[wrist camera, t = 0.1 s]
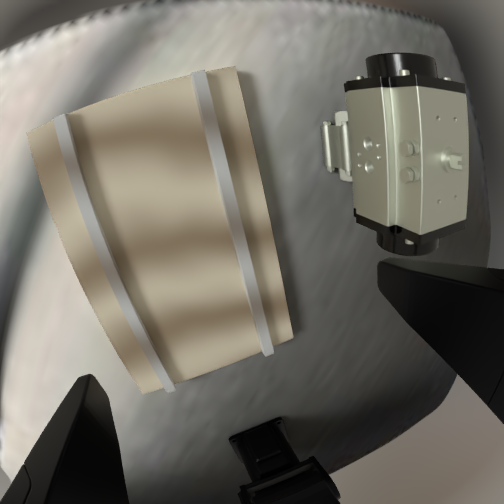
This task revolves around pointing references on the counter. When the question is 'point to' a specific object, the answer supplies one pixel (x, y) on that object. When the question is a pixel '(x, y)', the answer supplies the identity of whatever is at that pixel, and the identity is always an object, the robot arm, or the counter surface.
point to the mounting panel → (167, 225)
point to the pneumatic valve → (403, 151)
